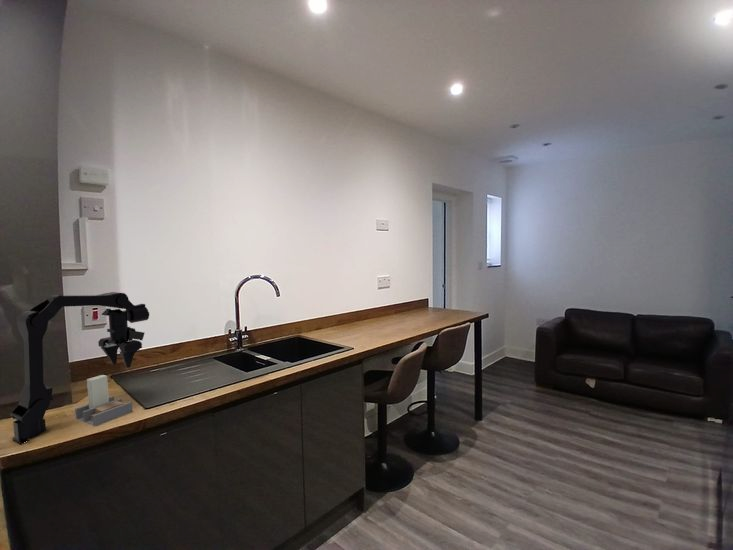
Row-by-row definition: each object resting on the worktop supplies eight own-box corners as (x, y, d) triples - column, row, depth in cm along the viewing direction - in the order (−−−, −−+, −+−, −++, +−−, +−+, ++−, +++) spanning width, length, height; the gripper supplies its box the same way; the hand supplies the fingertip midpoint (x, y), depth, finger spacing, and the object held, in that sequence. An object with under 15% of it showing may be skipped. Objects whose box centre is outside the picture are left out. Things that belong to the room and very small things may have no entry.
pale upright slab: (94, 416, 128) (91, 380, 127) (89, 415, 129) (86, 379, 128) (109, 411, 132) (107, 375, 131) (105, 409, 134) (102, 374, 133)
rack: (95, 428, 121) (94, 416, 121) (76, 420, 127) (75, 408, 127) (132, 413, 132) (131, 402, 131) (113, 406, 138) (112, 395, 137)
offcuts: (97, 423, 123) (96, 412, 123) (90, 420, 125) (89, 410, 125) (125, 412, 131) (125, 402, 131) (118, 409, 133) (118, 400, 133)
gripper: (154, 323, 141) (157, 363, 142) (126, 319, 150) (129, 356, 151) (124, 329, 131) (127, 371, 133) (96, 324, 140) (99, 364, 141)
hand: (121, 365), depth 140 cm, fingers open, 9 cm apart
